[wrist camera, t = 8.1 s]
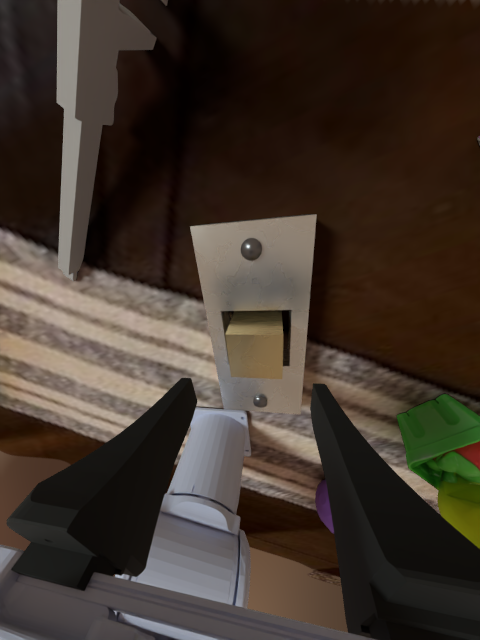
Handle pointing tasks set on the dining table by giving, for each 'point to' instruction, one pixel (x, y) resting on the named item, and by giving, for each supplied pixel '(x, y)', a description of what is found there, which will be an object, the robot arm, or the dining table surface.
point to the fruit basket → (447, 458)
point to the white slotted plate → (258, 298)
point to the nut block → (255, 344)
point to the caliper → (88, 104)
